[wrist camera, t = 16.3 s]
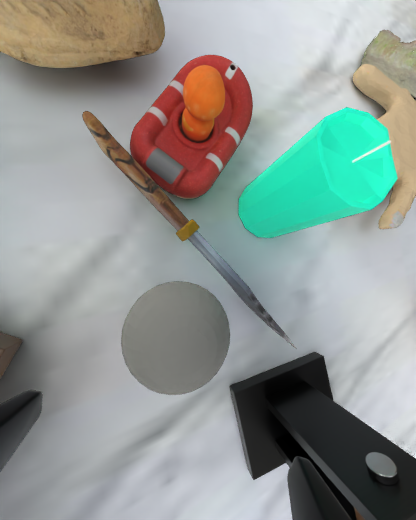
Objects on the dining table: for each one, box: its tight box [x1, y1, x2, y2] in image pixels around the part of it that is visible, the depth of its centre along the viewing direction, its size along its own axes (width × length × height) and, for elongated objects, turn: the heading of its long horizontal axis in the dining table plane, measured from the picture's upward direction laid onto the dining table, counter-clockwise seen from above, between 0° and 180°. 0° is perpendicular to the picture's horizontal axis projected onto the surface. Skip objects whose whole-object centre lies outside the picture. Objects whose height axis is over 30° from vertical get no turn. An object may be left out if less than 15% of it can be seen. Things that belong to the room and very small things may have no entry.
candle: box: [238, 107, 398, 238], centre depth 16 cm, size 6×6×12 cm
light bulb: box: [121, 281, 230, 395], centre depth 14 cm, size 6×6×10 cm
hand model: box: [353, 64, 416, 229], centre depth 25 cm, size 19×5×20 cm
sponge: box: [361, 30, 416, 100], centre depth 27 cm, size 12×5×4 cm
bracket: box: [230, 352, 416, 520], centre depth 16 cm, size 10×8×12 cm
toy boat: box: [130, 55, 253, 199], centre depth 17 cm, size 8×12×8 cm, turn 148°
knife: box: [82, 111, 296, 348], centre depth 18 cm, size 25×1×5 cm, turn 45°
